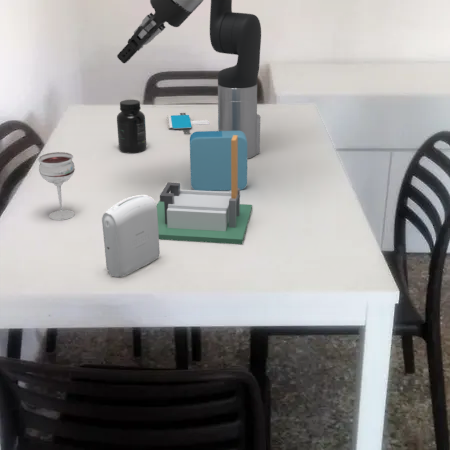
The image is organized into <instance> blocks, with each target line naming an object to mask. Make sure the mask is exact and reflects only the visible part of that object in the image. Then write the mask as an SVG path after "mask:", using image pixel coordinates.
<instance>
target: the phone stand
mask: <svg viewBox="0 0 450 450" xmlns="http://www.w3.org/2000/svg"><path fill="white" fill-rule="evenodd" d="M166 118H167V122H168V124H167V127H168V130H170V129H174V130H175V131H182V132H183V135H190V134H191V133H190V132H191V131H190V129H192V128H193V126H202V125H203V126H204V125H210V121H209V120H208V119H202V120H191V117H190V115H189V114H186V112H181V113H180V112H179V114H176V115H170V116H166Z"/></svg>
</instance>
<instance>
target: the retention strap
mask: <svg viewBox="0 0 450 450" xmlns="http://www.w3.org/2000/svg"><path fill="white" fill-rule="evenodd" d="M230 192H231V198H234V199H236V203H237V200H238V197H239V195H238V135H233V137H232V140H231V190H230Z"/></svg>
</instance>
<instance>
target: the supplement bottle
mask: <svg viewBox="0 0 450 450" xmlns="http://www.w3.org/2000/svg"><path fill="white" fill-rule="evenodd" d="M119 110H120V112H119V113H118V114H117V115H116V125H117V140H118V141H117V142H118V148H119V149H118V150H119V151H120V152H121V153H124V154H138V153H142V152H144V151H146V149H147V129H146V127H147V126H146V117H145V116H146V115H145V114H144V113H143V112H142V111H140V110H141V102H140V100H138V99H125V100H121V101H120V102H119Z"/></svg>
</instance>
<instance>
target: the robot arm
mask: <svg viewBox="0 0 450 450" xmlns="http://www.w3.org/2000/svg"><path fill="white" fill-rule="evenodd" d="M203 2H204V0H149V3H150V5H151V8H152V9H153V10H154V13H153V12H150V13H149V14H146V16H145V17H144V19H142V22H141V23H140V24H139V26H137V28H136V29H135V30H134V31H133V35H132V36H131V37H130V38H129V39H128V40H127V44H126V45H125V46H124V47H123V48H122V49H121V51H119V53H118V54H117V55H116V57H117V59H118V60H119V61H120V62H121V63H122V64H126V63H128V62H129V61H130V60H131V58H132V57H134V55H135V54H137V52H139V51H140V50H141V49H143V48H144V46H146V45H148V44H149V43H150V42H151V41H153V40H154V38H156V36H159V34H161V33H162V32H163V31H164V30H165V29H166V28H167V27H166V26H165V23H167V24H168V25H170V26H171V27H173V28H179V27H180V26H182V24H183V23H184V22H185V21H186V20H187V19H188V18H189V17H190V15H192V13H193V12H194V11H196V9H197V8H198V7H199V6H200V5H201V4H202V3H203ZM232 3H233V0H210V14H209V40H210V44H211V47H212V49H213V50H214V51H215V52H217V53H219V54H220V53H221V54H227V55H236V56H237V61H236V64H235V65H234V66H233V65H232V66H230V67H226V68H222V69H221V70H220V71H219V72H218V74H217V103H218V104H217V117H218V118H217V121H218V122H217V125H218V129H217V131H242V132H243V133H244V134H245V136H246V139H247V159H250V158H253V157H255V156H256V155H260V154H261V116H260V114H258V75H259V71H260V61H261V45H262V44H261V43H262V26H261V25H262V24H261V22H260V19H259V17H258V16H257V15H255V14H253V13H248V12H247V13H245V12H244V13H243V12H235V11H234V12H233V9H232V7H233V4H232Z"/></svg>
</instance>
